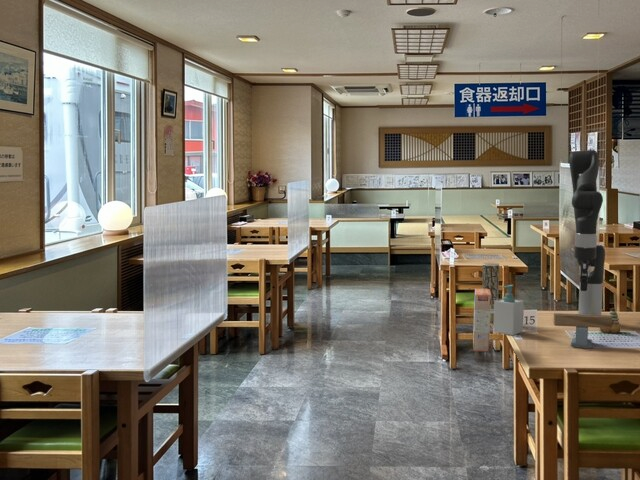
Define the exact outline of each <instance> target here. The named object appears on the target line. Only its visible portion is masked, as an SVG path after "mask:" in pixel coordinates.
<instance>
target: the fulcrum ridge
mask: <svg viewBox="0 0 640 480" xmlns="http://www.w3.org/2000/svg"><path fill="white" fill-rule="evenodd" d="M588 333H589V327H575V337H572V338H571V341H570V342H571V343H570V347H573V348H583V349H592V342H593V340H592V339H589V338H588V336H589V335H588Z"/></svg>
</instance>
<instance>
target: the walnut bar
mask: <svg viewBox="0 0 640 480" xmlns="http://www.w3.org/2000/svg"><path fill="white" fill-rule="evenodd" d="M553 325H554V326H555V327H556V326H559V327H573V328H574V327H575V328H576V327H588V328H593V329H595V328H596V329H600V328H612V317H611V316H610V315H609V314H605V315H604V314H601V315H588V314H578V313H563V312H562V313H561V312H554V313H553Z"/></svg>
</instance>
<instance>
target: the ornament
mask: <svg viewBox="0 0 640 480" xmlns="http://www.w3.org/2000/svg"><path fill="white" fill-rule="evenodd" d="M608 315H610V316H611V317H612V328H599V330H600V332H601V333H606V334H620V332H621V323H620V321H619V320H620V317H619V314H618V312H617V311H616V308H614V307H612V308H610V311H609V314H608Z"/></svg>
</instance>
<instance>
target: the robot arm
mask: <svg viewBox="0 0 640 480" xmlns="http://www.w3.org/2000/svg"><path fill="white" fill-rule="evenodd" d="M568 160H569V161H568V162H569V170H570V177H571V184H572V191H573V193H572V194H573V196H572V197H571V205H572V207H573V210H574V212H573V213H574V222H575V238H574V256H573V257H574V258H575V259H576V260H577V261H576V262H577V263H578V268H579V290H578V292H579V293H578V313H577V314H588V315H603V314H602V312H603V311H602V309H603V308H602V307H603V285H604V273H605V272H604V271H605V260H606V259H605V258H606V249H605V247H604V246H603V245H600V244H597V241H598V239H597V224H598V218H599V214H600V211H601V208H602V206H603V203H604V199H603V198H604V197H603V195H602V193H601V192H600V191H597V189H598V187H597V180H598V179H597V178H598V175H599V168H600V158H599V154H598V152H597V150H595V149H589V150H588V149H586V150H577V151H572V152H570V154H569V158H568ZM591 267H593V270H592V271H591ZM590 271H591V272H590Z"/></svg>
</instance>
